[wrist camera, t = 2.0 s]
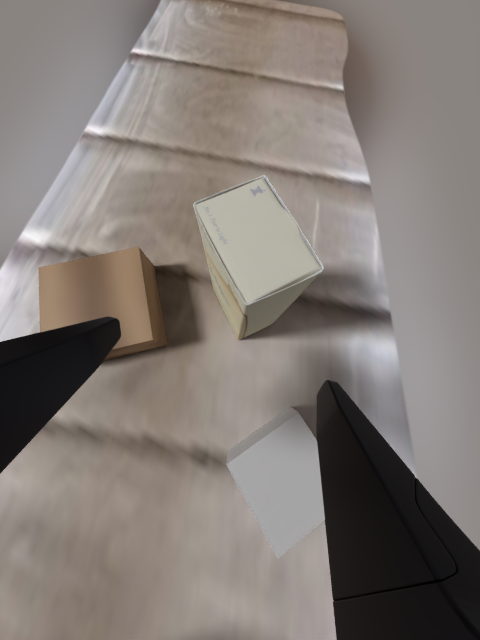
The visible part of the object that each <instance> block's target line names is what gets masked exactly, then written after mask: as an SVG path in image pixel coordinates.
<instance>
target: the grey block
mask: <svg viewBox="0 0 480 640" xmlns="http://www.w3.org/2000/svg"><path fill="white" fill-rule="evenodd" d="M226 465H227V467H228V468H229V470H230V472H231V474H232V476H233V478H234V480H235V481H236V483H237V485H238V487H239V489H240V491H241V492H242V494H243V496H244V498H245V500H246V502H247V503H248V505H249V507H250V509H251V511H252V513H253V515H254V516H255V518H256V520H257V522H258V524H259V526H260V527H261V529H262V531H263V533H264V535H265V537H266V538H267V540H268V542H269V544H270V546H271V548H272V550H273V551H274V553H275V555H276V557H277V559H278V558H279V557H280V556H282V555H283V554H284V553H285V552H287V551H288V550H289V549H290V548H291V547H293V546H294V545H295V544H296V543H297V542H299V541H300V540H301V539H302V538H303V537H305V536H306V535H307V534H308V533H309V532H311V531H312V530H313V529H314V528H315V527H317V526H318V525H319V524H320V523H321V522H323V521H324V520H325V515H324V505H323V495H322V485H321V475H320V466H319V456H318V446H317V440H316V438H315V437H314V435H313V434H312V432H311V431H310V429H309V427H308V426H307V424H306V423H305V421H304V420H303V418H302V417H301V415H300V414H299V412H298V411H296V410H295V409H293V408H292V407H289V408H288V409H286V410H285V411H283V412H282V413H281V414H279V415H278V416H276V417H275V418H274V419H272V420H271V421H269V422H268V423H267V424H265V425H264V426H262V427H261V428H259V429H258V430H257V431H255V432H254V433H252V434H251V435H250V436H248V437H247V438H245V439H244V440H243V441H241V442H240V443H238V444H237V445H236V446H234V447H233V448H231V449H230V450H228V454H227V463H226Z"/></svg>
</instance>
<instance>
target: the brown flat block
mask: <svg viewBox="0 0 480 640" xmlns="http://www.w3.org/2000/svg"><path fill="white" fill-rule="evenodd" d="M39 305H40V332H44V331H48V330H52V329H57V328H61V327H65V326H69V325H73V324H78V323H82V322H86V321H90V320H94V319H98V318H103V317H107V316H110V317H114V318H117V319H118V320H119V321H120V328H121V338H120V339H119V341H118V342H117V343H116V345H115V346H114V347H113V349H112V350H111V351H110V353H109V354H108V355H107V357H106V358H105V359H104V360H107V359H111V358H115V357H120V356H124V355H128V354H132V353H136V352H140V351H144V350H148V349H152V348H157V347H161V346H165V345H167V339H166V333H165V327H164V321H163V315H162V309H161V303H160V297H159V291H158V285H157V279H156V273H155V267H154V265H153V264H152V263H151V261H150V260H149V259H148V258H147V257H146V255H145V254H144V253H143V252H142V250H141V249H140V248H139V247H136V248H131V249H126V250H121V251H116V252H112V253H107V254H102V255H97V256H92V257H87V258H82V259H78V260H73V261H68V262H63V263H58V264H53V265H49V266H44V267H39Z"/></svg>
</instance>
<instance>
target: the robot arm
mask: <svg viewBox="0 0 480 640" xmlns="http://www.w3.org/2000/svg"><path fill="white" fill-rule="evenodd" d="M120 338H121V328H120V321H119V320H118V319H117V318H114V317H110V316H107V317H103V318H98V319H94V320H90V321H86V322H82V323H78V324H73V325H69V326H65V327H61V328H57V329H52V330H48V331H44V332H40V333H36V334H32V335H27V336H23V337H19V338H15V339H11V340H7V341H2V342H0V473H1V472H2V471H3V470H4V469H5V468H6V467H7V466H8V465H9V464H10V463H11V461H12V460H13V459H14V458H15V457H16V456H17V455H18V454H19V453H20V452H21V451H22V450H23V448H24V447H25V446H26V445H27V444H28V443H29V442H30V441H31V440H32V439H33V438H34V437H35V435H36V434H37V433H38V432H39V431H40V430H41V429H42V428H43V427H44V426H45V425H46V424H47V423H48V421H49V420H50V419H51V418H52V417H53V416H54V415H55V414H56V413H57V412H58V411H59V410H60V408H61V407H62V406H63V405H64V404H65V403H66V402H67V401H68V400H69V399H70V398H71V397H72V395H73V394H74V393H75V392H76V391H77V390H78V389H79V388H80V387H81V386H82V385H83V384H84V383H85V381H86V380H87V379H88V378H89V377H90V376H91V375H92V374H93V373H94V372H95V371H96V369H97V368H98V367H99V366H100V365H101V363H102V362H103V361H104V359H105V358H106V357H107V355H108V354H109V353H110V351H111V350H112V349H113V347H114V346H115V345H116V343H117V342H118V341H119V339H120ZM316 432H317V446H318V456H319V466H320V475H321V485H322V495H323V505H324V515H325V525H326V535H327V545H328V555H329V565H330V575H331V585H332V595H333V600H334V601H333V607H334V616H335V626H336V636H337V640H480V551H479V549H478V548H477V547H476V546H475V545H474V544H473V543H472V542H471V541H470V539H469V538H468V537H467V536H466V535H465V534H464V533H463V532H462V531H461V529H460V528H459V527H458V526H457V525H456V524H455V523H454V522H453V520H452V519H451V518H450V517H449V516H448V515H447V514H446V512H445V511H444V510H443V509H442V508H441V506H440V505H439V504H438V503H437V502H436V501H435V500H434V498H433V497H432V496H431V495H430V493H429V492H428V491H427V490H426V489H425V488H424V487H423V485H422V484H421V483H420V481H419V480H418V479H417V478H415V476H414V474H413V473H412V472H411V471H410V469H409V468H408V467H407V466H406V465H405V463H404V462H403V461H402V460H401V459H400V457H399V456H398V455H397V454H396V453H395V451H394V450H393V449H392V448H391V447H390V445H389V444H388V443H387V442H386V440H385V439H384V438H383V437H382V436H381V434H380V433H379V432H378V431H377V430H376V428H375V427H374V426H373V425H372V424H371V422H370V421H369V420H368V419H367V418H366V416H365V415H364V414H363V413H362V411H361V410H360V409H359V408H358V407H357V405H356V404H355V403H354V402H353V401H352V399H351V398H350V397H349V396H348V395H347V393H346V392H345V391H344V390H343V389H342V387H341V386H340V385H339V384H338V383H337V382H334V381H331V380H326V381H325V382H324V384H323V385H322V387H321V388H320V390H319V392H318V394H317V422H316Z"/></svg>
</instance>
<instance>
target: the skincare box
mask: <svg viewBox="0 0 480 640" xmlns="http://www.w3.org/2000/svg"><path fill="white" fill-rule="evenodd" d="M193 206H194V210H195V214H196V218H197V221H198V225H199V229H200V233H201V237H202V241H203V245H204V250H205V254H206V258H207V262H208V266H209V271H210V275H211V279H212V284H213V288H214V292H215V294H216V296H217V298H218V300H219V302H220V305H221V307H222V309H223V311H224V313H225V315H226V317H227V319H228V321H229V323H230V325H231V327H232V329H233V331H234V333H235V335H236V337H237V339H238V340H240V339H242V338H244V337H247V336H249V335H251V334H253V333H255V332H257V331H259V330H261V329H264V328H266V327H268V326H269V325H271V324H273V323H274V322H275V321H276V320H277V319H278V318H279V317H280V316H281V315H282V313H283V312H284V311H285V310H286V309H287V308H288V307H289V306H290V305H291V304H292V303H293V302H294V301H295V300H296V299H297V298H298V297H299V296H300V294H301V293H302V292H303V291H304V290H305V289H306V288H307V287H308V286H309V285H310V284H311V283H312V282H313V281H314V280H315V279H316V278H317V277H318V276H319V275H320V274H321V273H322V272H323V269H324V267H323V264H322V263H321V261H320V260H319V258H318V257H317V255H316V253H315V252H314V250H313V248H312V247H311V245H310V244H309V242H308V240H307V239H306V237H305V235H304V234H303V232H302V231H301V229H300V227H299V226H298V224H297V222H296V221H295V219H294V218H293V216H292V215H291V213H290V212H289V210H288V209H287V207H286V206H285V204H284V203H283V201H282V200H281V198H280V197H279V195H278V194H277V192H276V191H275V189H274V187H273V186H272V185H271V183H270V181H269V180H268V178H267V177H266V176H265V175H263V176H260V177H258V178H256V179H253V180H250V181H247V182H245V183H242V184H239V185H236V186H234V187H231V188H229V189H226V190H224V191H221V192H218V193H216V194H214V195H211V196H209V197H206V198H204V199H201V200H199V201H196V202H195V203H194V204H193Z"/></svg>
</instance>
